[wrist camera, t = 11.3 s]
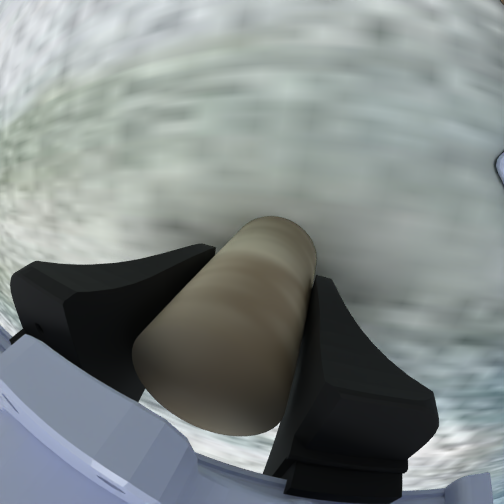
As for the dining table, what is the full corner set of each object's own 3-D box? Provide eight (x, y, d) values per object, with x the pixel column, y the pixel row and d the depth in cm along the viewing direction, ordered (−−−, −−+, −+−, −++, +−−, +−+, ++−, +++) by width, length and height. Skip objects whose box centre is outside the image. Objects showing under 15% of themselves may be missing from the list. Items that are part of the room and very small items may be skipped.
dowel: (334, 264, 13) (322, 414, 5) (271, 309, 14) (214, 444, 7) (274, 197, 12) (185, 291, 5) (216, 252, 14) (112, 360, 7)
